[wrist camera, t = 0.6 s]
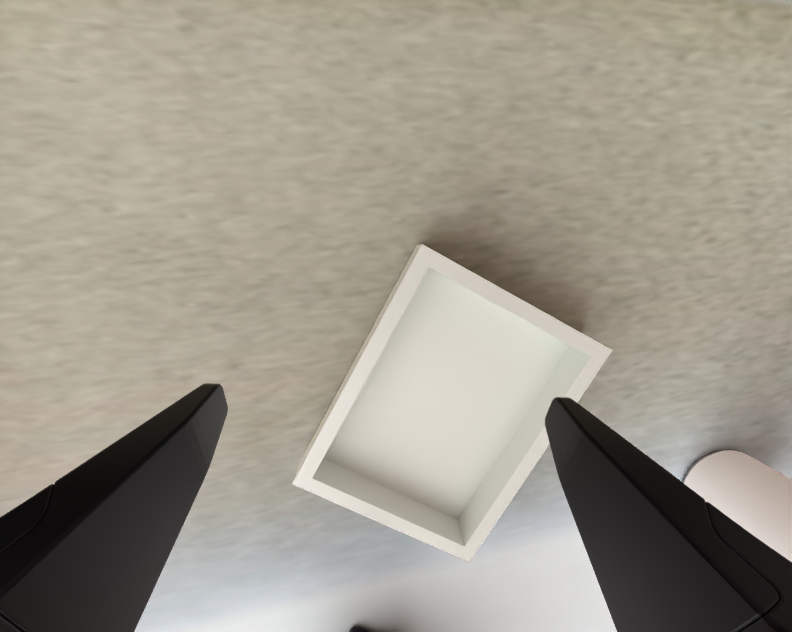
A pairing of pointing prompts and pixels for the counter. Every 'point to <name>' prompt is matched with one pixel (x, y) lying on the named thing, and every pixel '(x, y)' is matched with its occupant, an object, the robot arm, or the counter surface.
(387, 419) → the tray
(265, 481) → the counter surface
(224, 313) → the counter surface
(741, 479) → the can
